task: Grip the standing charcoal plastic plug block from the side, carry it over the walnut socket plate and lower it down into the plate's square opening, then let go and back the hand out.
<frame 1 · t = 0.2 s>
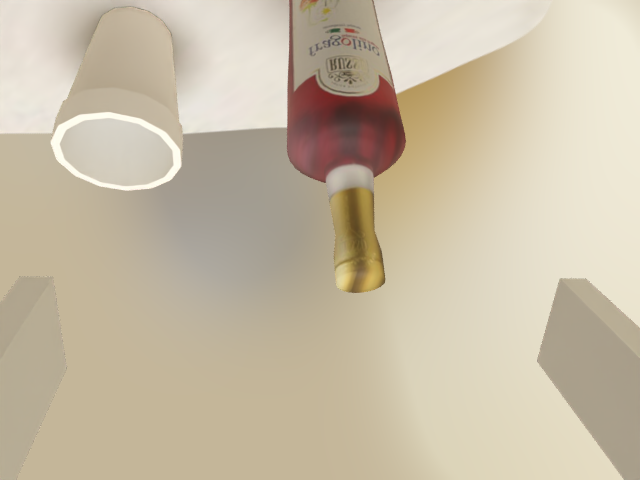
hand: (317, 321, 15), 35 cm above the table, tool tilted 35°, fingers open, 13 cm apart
foam cup: (135, 35, 50), on the table
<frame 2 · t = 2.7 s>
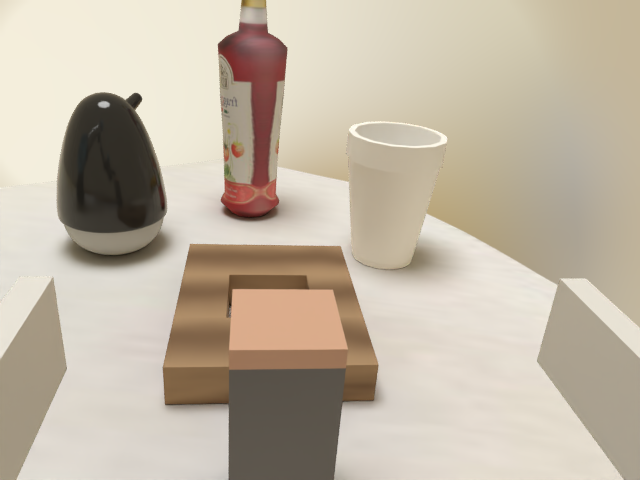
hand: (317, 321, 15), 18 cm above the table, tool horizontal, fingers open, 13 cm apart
liquor: (249, 211, 69), on the table
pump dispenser: (118, 245, 58), on the table
socket plate: (268, 326, 46), on the table
foam cup: (381, 256, 60), on the table
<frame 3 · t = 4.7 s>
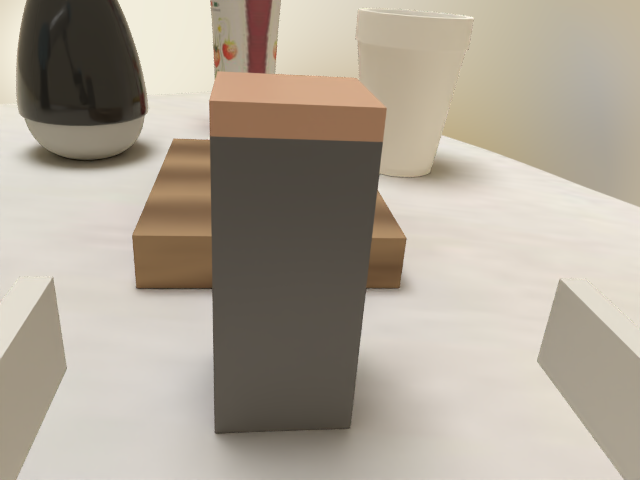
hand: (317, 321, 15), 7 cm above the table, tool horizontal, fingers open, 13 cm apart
liquor: (244, 130, 61), on the table
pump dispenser: (91, 153, 50), on the table
socket plate: (266, 221, 38), on the table
foam cup: (396, 167, 52), on the table
plug: (279, 386, 23), on the table
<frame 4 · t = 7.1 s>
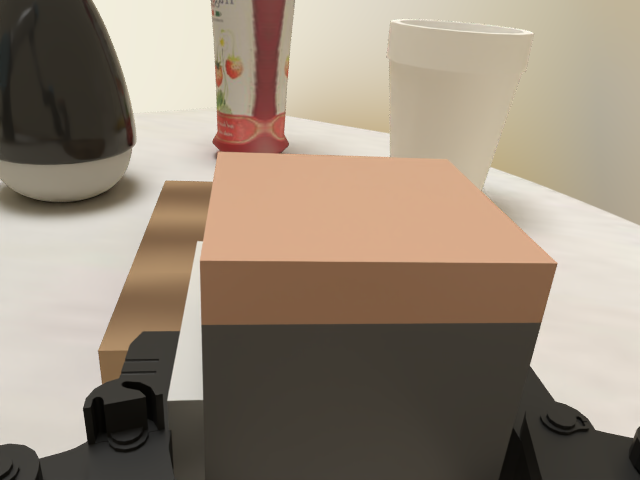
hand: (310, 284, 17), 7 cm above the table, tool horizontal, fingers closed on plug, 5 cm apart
liquor: (250, 158, 52), on the table
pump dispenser: (68, 191, 42), on the table
socket plate: (281, 293, 30), on the table
foam cup: (431, 208, 44), on the table
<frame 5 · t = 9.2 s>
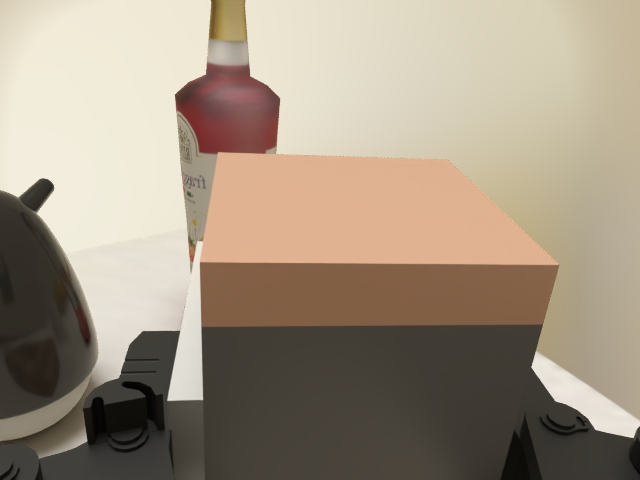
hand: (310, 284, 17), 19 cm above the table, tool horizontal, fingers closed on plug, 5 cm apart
liquor: (229, 323, 48), on the table
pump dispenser: (23, 410, 38), on the table
when the fingers open (8 cm above the table, at t = 11.5 s): plug drops 1 cm, resting in socket plate.
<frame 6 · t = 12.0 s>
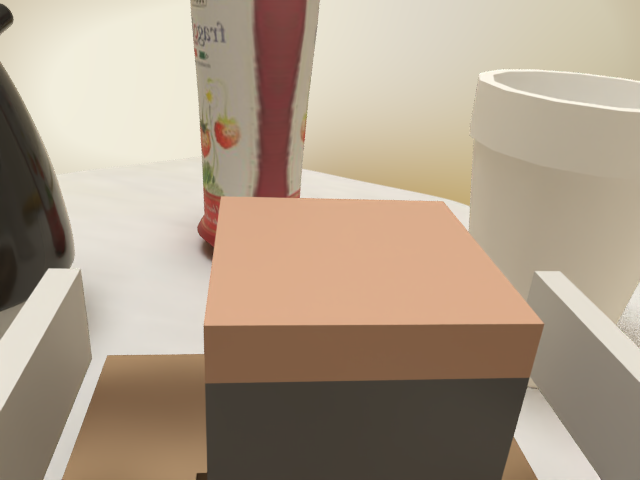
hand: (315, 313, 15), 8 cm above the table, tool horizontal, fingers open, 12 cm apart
liquor: (251, 248, 38), on the table
foam cup: (524, 351, 29), on the table
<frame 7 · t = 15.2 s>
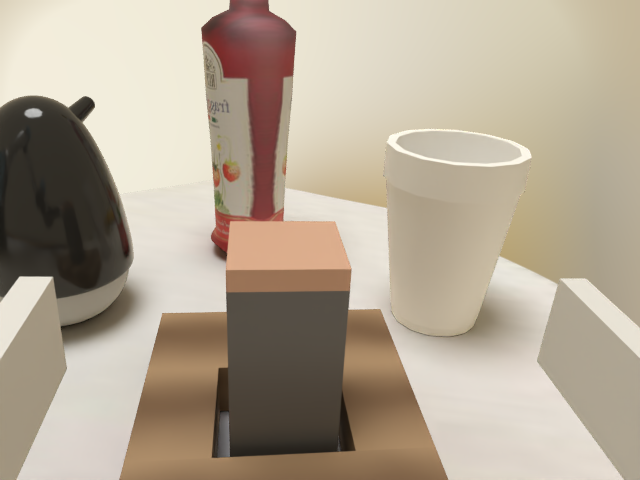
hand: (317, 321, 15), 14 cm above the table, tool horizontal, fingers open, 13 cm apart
liquor: (249, 250, 52), on the table
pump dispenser: (66, 309, 42), on the table
socket plate: (279, 450, 30), on the table
foam cup: (432, 315, 43), on the table
plug: (280, 451, 30), resting in socket plate
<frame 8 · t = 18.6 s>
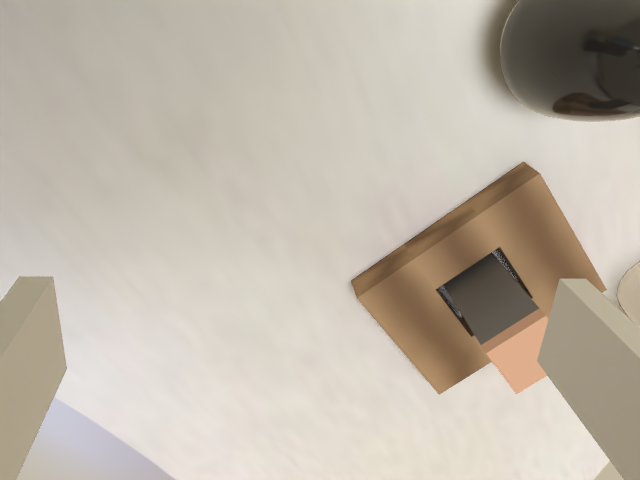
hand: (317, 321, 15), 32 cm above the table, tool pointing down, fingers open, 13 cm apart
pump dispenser: (545, 37, 44), on the table
socket plate: (472, 277, 53), on the table
plug: (473, 277, 53), resting in socket plate
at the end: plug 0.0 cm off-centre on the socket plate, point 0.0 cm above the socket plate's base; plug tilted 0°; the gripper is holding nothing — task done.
